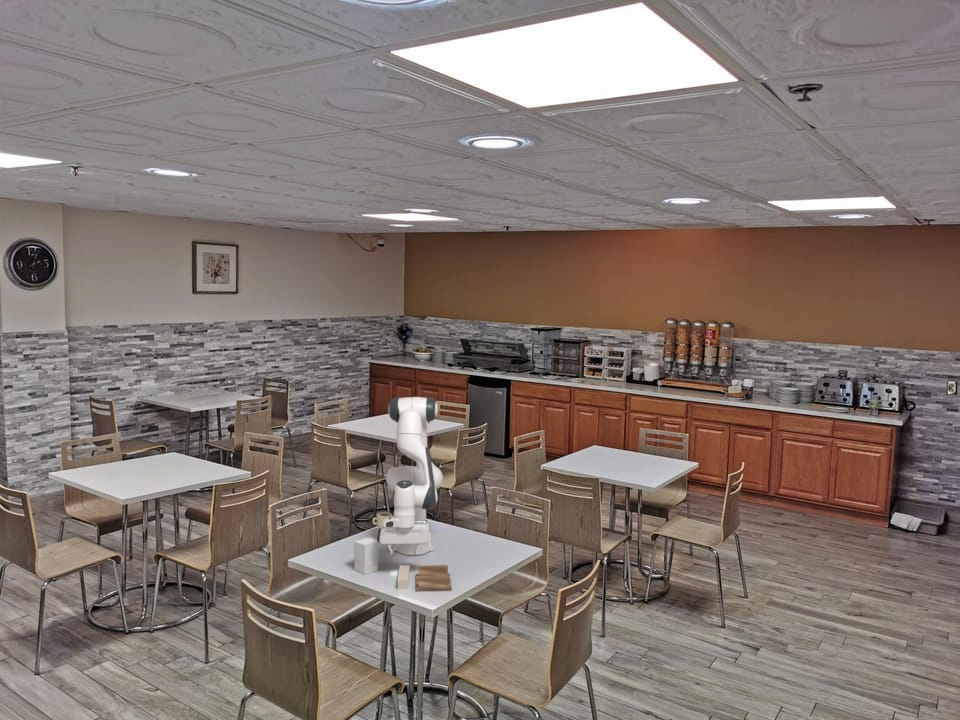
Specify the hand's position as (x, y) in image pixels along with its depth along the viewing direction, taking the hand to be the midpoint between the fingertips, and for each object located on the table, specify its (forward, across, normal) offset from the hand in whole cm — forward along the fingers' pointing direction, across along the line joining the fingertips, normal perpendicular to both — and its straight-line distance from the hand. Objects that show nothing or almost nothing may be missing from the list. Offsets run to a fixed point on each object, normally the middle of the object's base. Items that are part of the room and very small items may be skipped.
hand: (403, 554), depth 292 cm
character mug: (+8, +10, -47) cm, 49 cm away
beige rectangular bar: (+10, 0, +4) cm, 11 cm away
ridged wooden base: (+10, -12, +7) cm, 17 cm away
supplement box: (+10, +16, -9) cm, 21 cm away
